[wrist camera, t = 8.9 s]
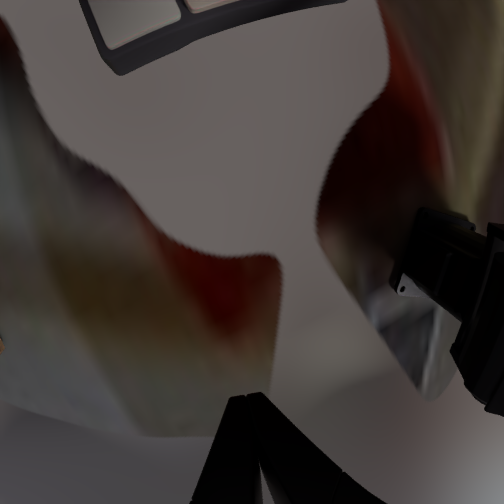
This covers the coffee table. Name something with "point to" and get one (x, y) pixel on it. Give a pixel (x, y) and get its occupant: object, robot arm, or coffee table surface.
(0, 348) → the block
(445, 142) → the coffee table surface
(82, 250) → the coffee table surface
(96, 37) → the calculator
